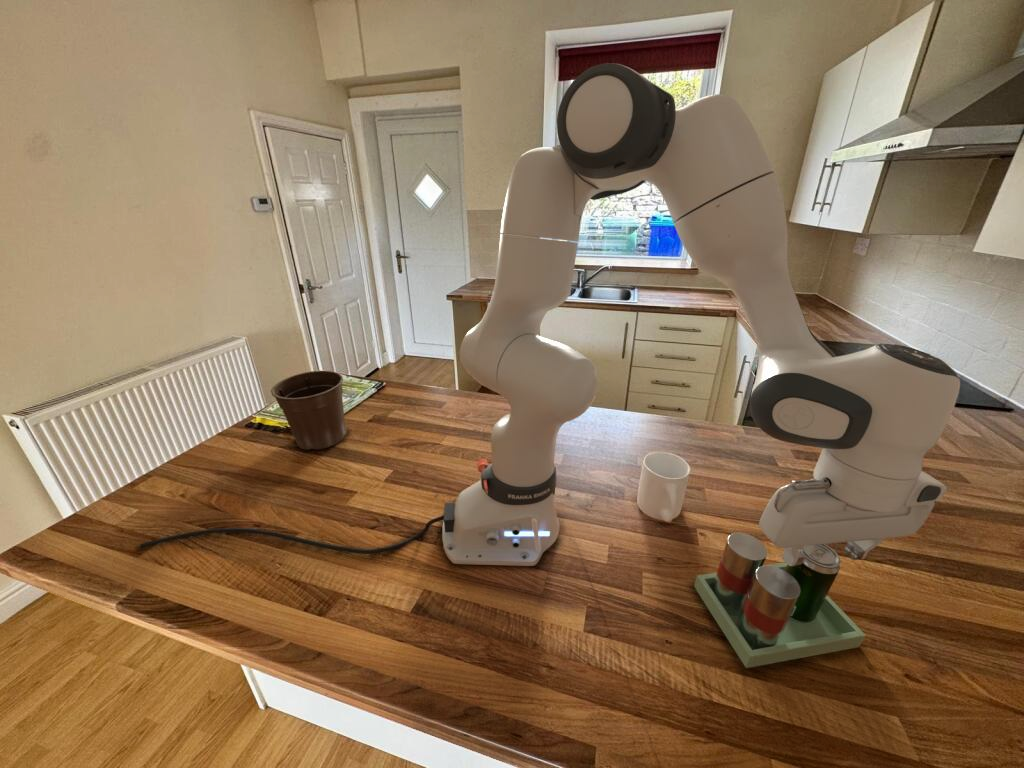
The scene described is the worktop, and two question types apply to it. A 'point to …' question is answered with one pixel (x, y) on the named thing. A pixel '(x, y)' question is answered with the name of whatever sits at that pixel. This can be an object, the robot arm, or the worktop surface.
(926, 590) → the worktop surface
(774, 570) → the silver can right
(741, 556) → the silver can left
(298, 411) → the plant pot
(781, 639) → the can tray
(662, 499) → the mug
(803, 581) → the beer can
